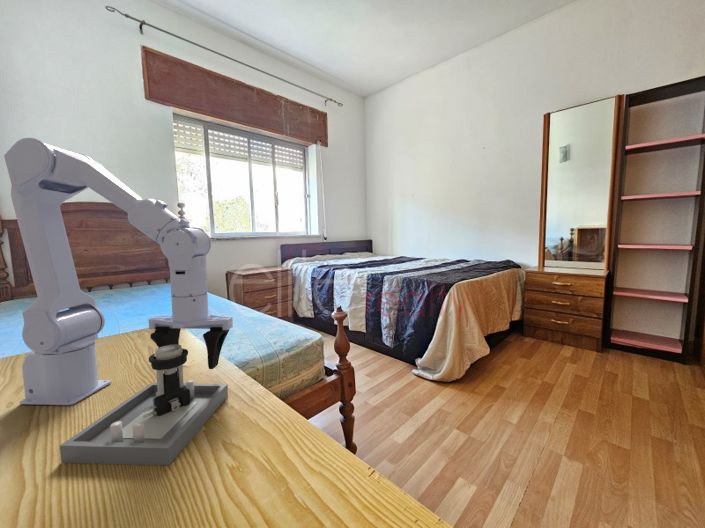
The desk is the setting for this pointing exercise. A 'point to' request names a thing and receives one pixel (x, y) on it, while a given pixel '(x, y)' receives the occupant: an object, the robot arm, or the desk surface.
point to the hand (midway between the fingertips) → (193, 366)
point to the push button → (169, 380)
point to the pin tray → (144, 429)
